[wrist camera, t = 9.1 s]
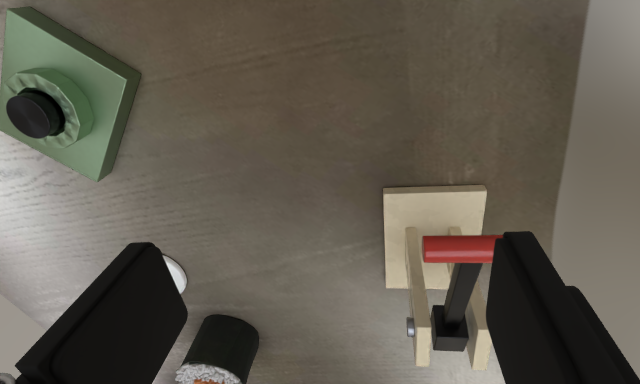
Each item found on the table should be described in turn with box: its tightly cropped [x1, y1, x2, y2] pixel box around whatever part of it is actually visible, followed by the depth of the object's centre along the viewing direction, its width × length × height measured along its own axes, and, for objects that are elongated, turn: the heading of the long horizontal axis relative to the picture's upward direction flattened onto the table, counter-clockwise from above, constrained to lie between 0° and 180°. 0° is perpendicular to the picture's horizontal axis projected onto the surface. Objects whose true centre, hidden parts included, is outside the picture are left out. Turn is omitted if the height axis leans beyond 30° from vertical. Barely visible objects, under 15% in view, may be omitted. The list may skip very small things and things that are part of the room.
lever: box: [422, 235, 503, 352], centre depth 23 cm, size 13×5×2 cm, turn 7°
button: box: [6, 90, 65, 139], centre depth 30 cm, size 4×4×2 cm
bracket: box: [383, 185, 492, 370], centre depth 31 cm, size 12×9×13 cm
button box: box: [0, 7, 141, 182], centre depth 32 cm, size 12×10×4 cm
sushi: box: [175, 315, 259, 384], centre depth 46 cm, size 8×8×8 cm
